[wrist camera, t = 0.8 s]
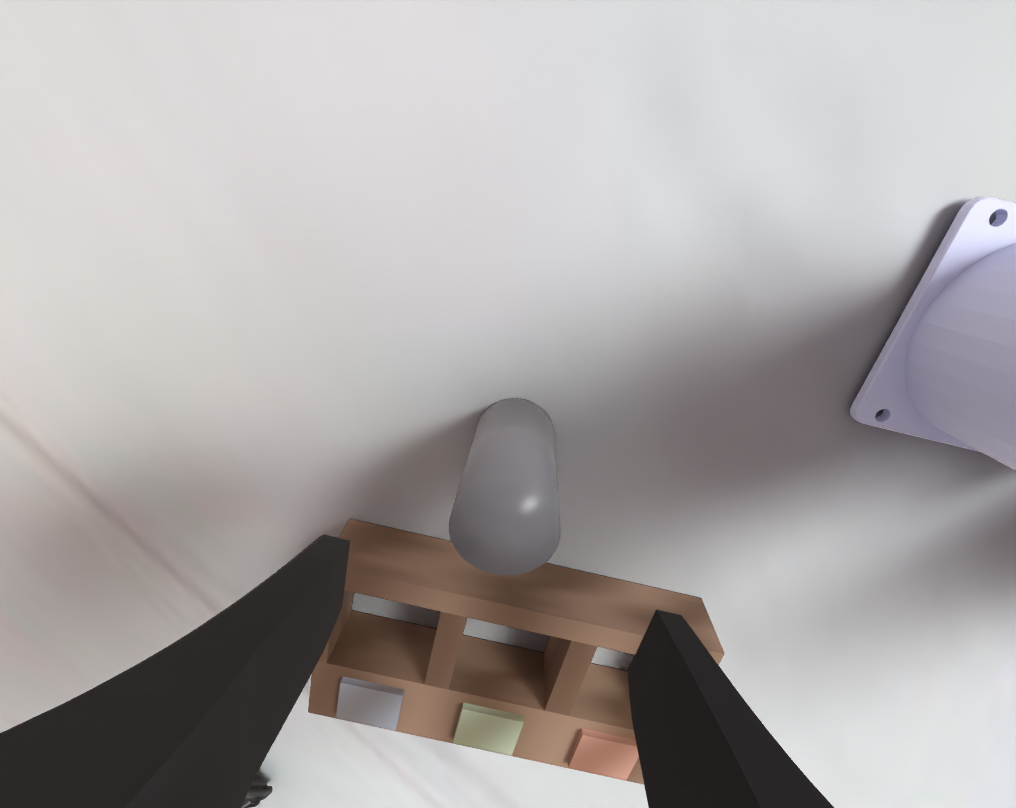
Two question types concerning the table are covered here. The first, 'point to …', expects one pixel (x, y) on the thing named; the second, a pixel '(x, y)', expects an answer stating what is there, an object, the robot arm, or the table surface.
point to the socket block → (491, 654)
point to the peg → (508, 491)
